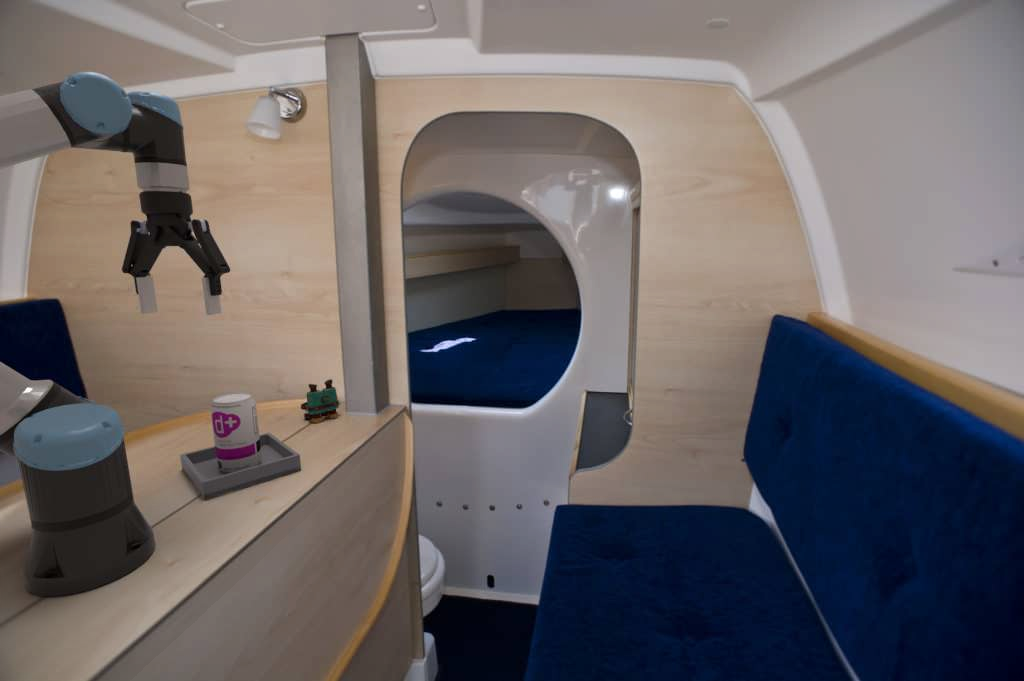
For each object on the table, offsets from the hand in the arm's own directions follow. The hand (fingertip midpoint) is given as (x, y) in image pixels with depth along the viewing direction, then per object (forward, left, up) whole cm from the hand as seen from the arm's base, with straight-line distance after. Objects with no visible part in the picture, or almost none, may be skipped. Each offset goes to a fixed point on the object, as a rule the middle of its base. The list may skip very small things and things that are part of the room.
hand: (181, 313), depth 93 cm
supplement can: (+8, +5, -34) cm, 35 cm away
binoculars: (+34, +26, -35) cm, 55 cm away
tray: (+8, +5, -35) cm, 36 cm away
